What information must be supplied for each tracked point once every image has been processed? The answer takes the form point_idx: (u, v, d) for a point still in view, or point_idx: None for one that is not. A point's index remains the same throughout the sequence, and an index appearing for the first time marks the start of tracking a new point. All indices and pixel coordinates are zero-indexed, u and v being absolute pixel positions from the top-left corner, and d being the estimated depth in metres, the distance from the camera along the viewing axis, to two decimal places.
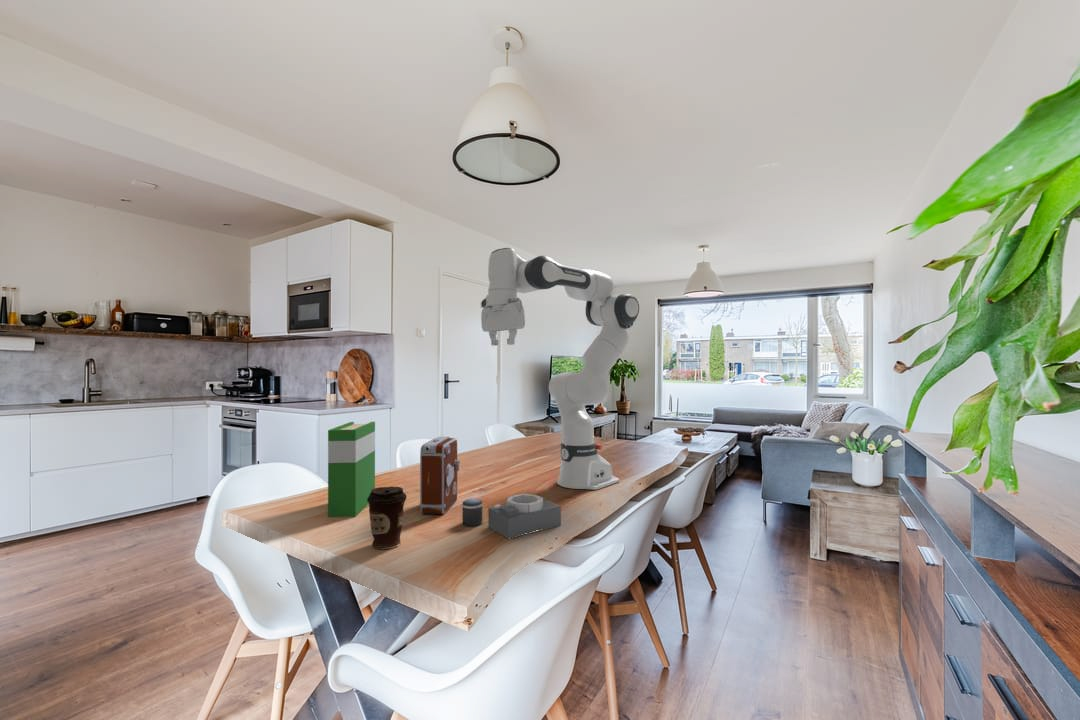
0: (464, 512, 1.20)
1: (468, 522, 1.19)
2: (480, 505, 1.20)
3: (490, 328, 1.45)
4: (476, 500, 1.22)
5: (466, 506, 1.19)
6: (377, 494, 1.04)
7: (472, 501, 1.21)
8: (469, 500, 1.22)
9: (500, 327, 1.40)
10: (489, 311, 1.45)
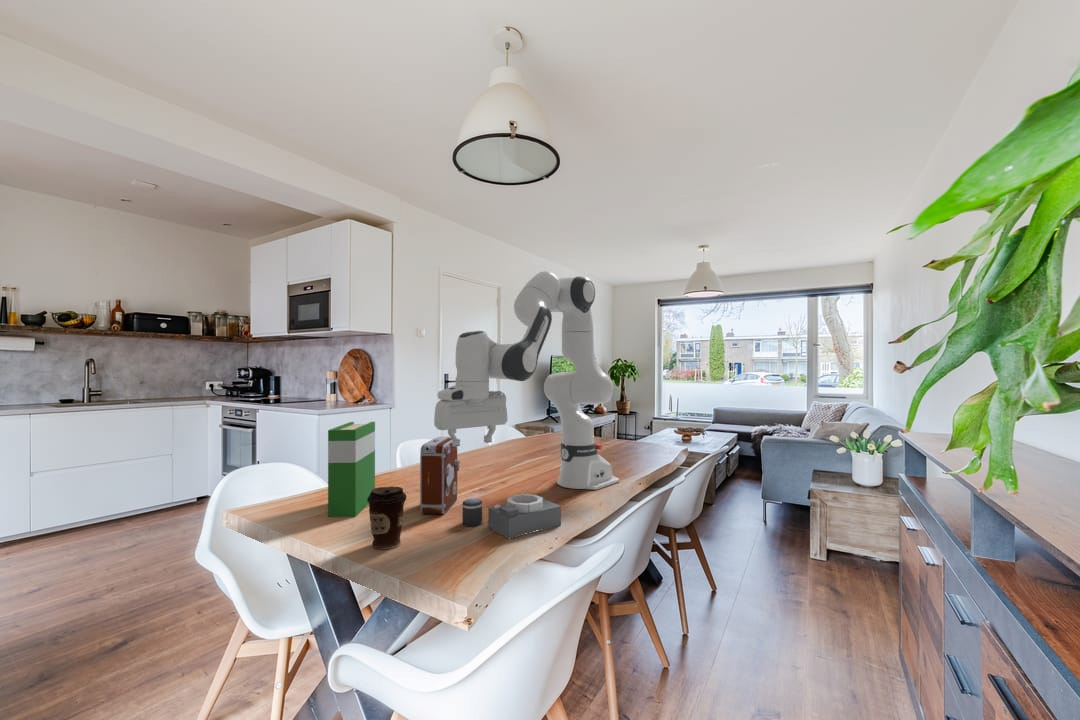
0: (464, 512, 1.20)
1: (468, 522, 1.19)
2: (480, 505, 1.20)
3: (460, 425, 1.18)
4: (476, 500, 1.22)
5: (466, 506, 1.19)
6: (377, 494, 1.04)
7: (472, 501, 1.21)
8: (469, 500, 1.22)
9: (481, 424, 1.21)
10: (461, 405, 1.17)
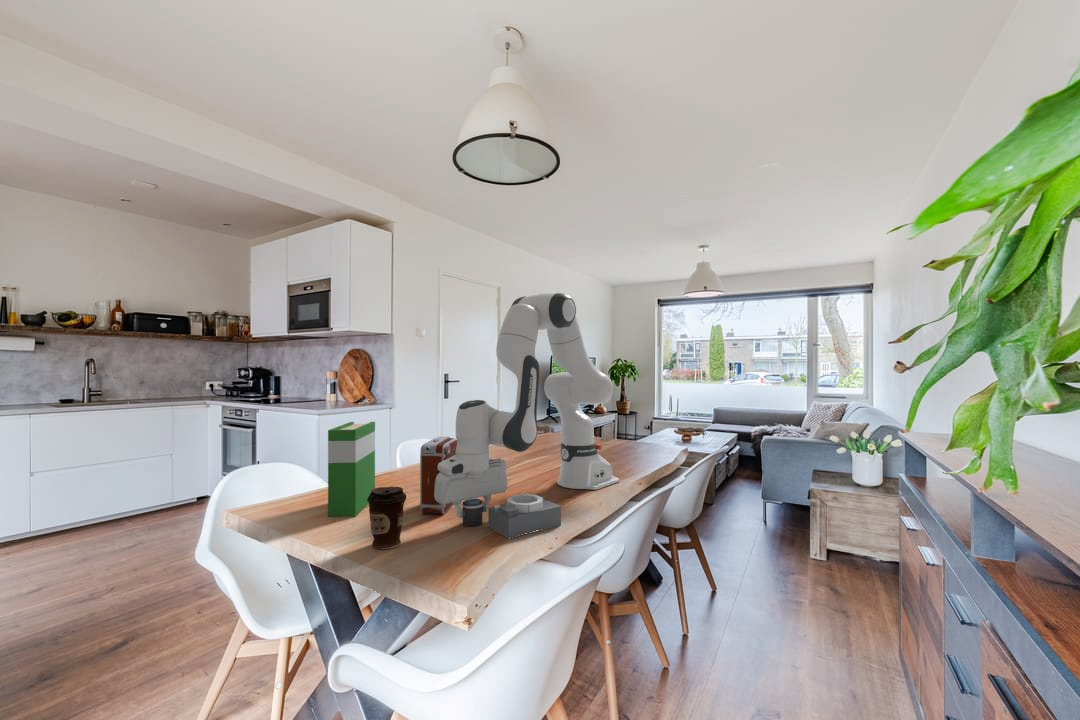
0: None
1: (468, 522, 1.19)
2: (480, 505, 1.20)
3: (460, 498, 1.18)
4: (476, 500, 1.22)
5: (466, 506, 1.19)
6: (377, 494, 1.04)
7: (472, 501, 1.21)
8: (469, 500, 1.22)
9: (481, 494, 1.21)
10: (461, 478, 1.17)
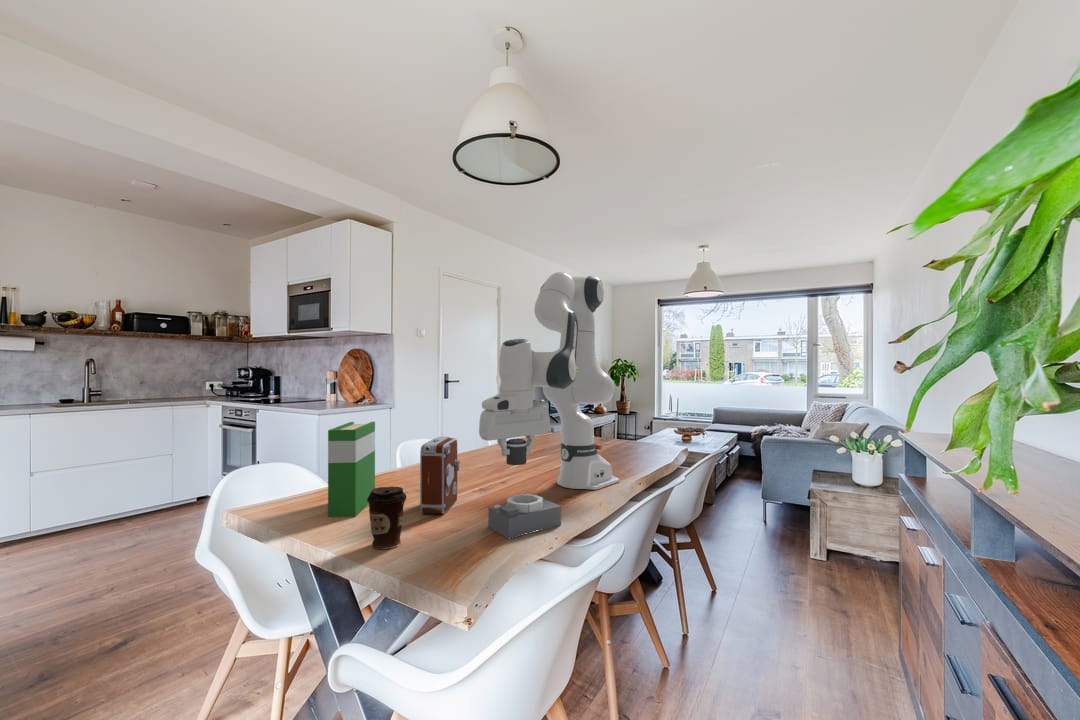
0: None
1: (512, 461, 1.18)
2: (524, 444, 1.19)
3: (505, 435, 1.16)
4: (520, 439, 1.20)
5: (511, 444, 1.18)
6: (377, 494, 1.04)
7: (516, 440, 1.19)
8: (513, 439, 1.20)
9: (525, 433, 1.20)
10: (506, 415, 1.16)
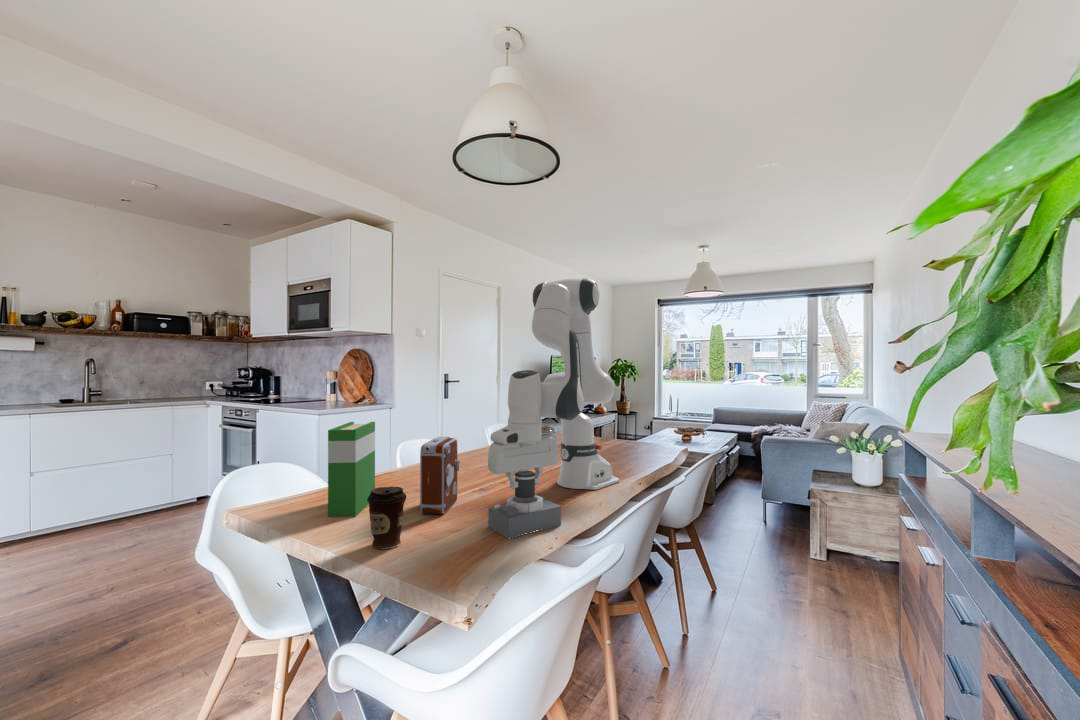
0: None
1: (521, 494, 1.17)
2: (533, 476, 1.18)
3: (514, 468, 1.15)
4: (528, 471, 1.20)
5: (519, 477, 1.17)
6: (377, 494, 1.04)
7: (525, 472, 1.19)
8: (521, 471, 1.20)
9: (534, 466, 1.19)
10: (515, 448, 1.15)
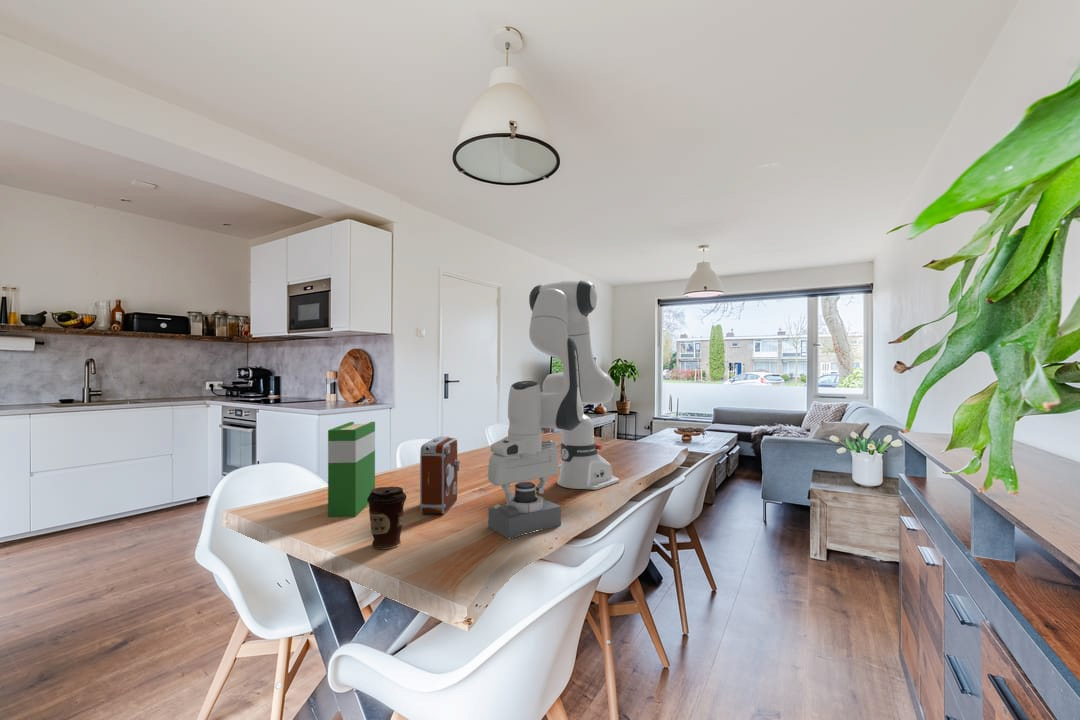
0: (517, 495, 1.18)
1: None
2: (533, 488, 1.18)
3: (514, 479, 1.15)
4: (529, 483, 1.20)
5: (520, 489, 1.17)
6: (377, 494, 1.04)
7: (525, 484, 1.19)
8: (521, 483, 1.20)
9: (534, 476, 1.19)
10: (515, 459, 1.15)
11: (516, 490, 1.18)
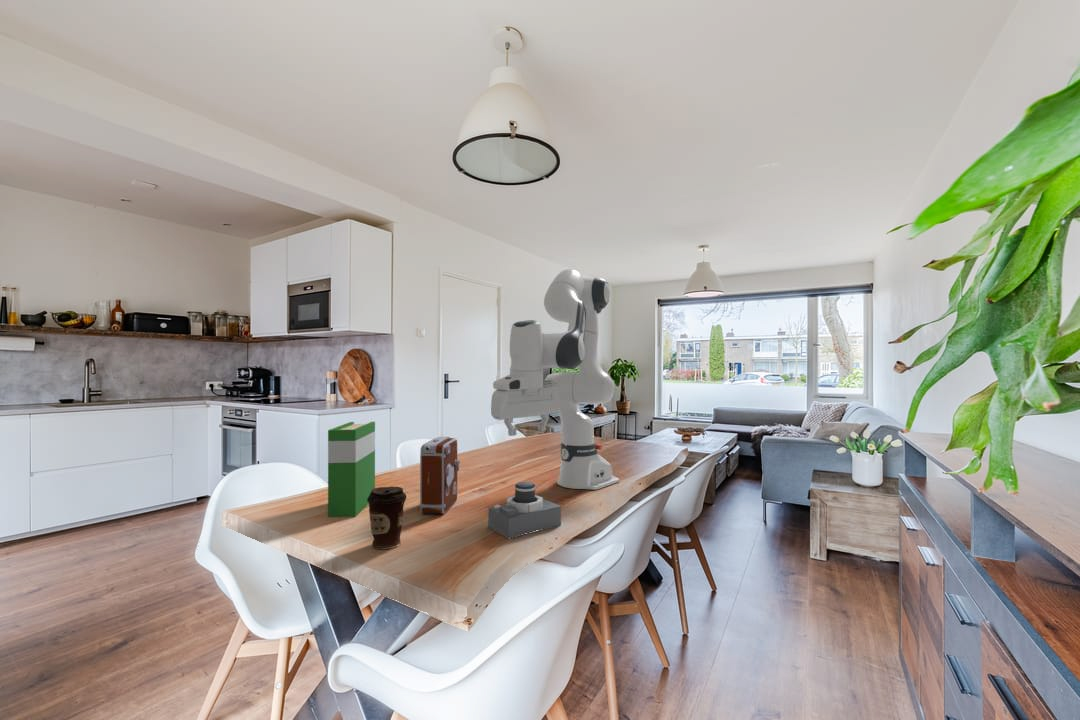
0: (517, 495, 1.18)
1: None
2: (533, 488, 1.18)
3: (517, 415, 1.18)
4: (529, 483, 1.20)
5: (520, 489, 1.17)
6: (377, 494, 1.04)
7: (525, 484, 1.19)
8: (521, 483, 1.20)
9: (536, 413, 1.22)
10: (518, 394, 1.18)
11: (516, 490, 1.18)
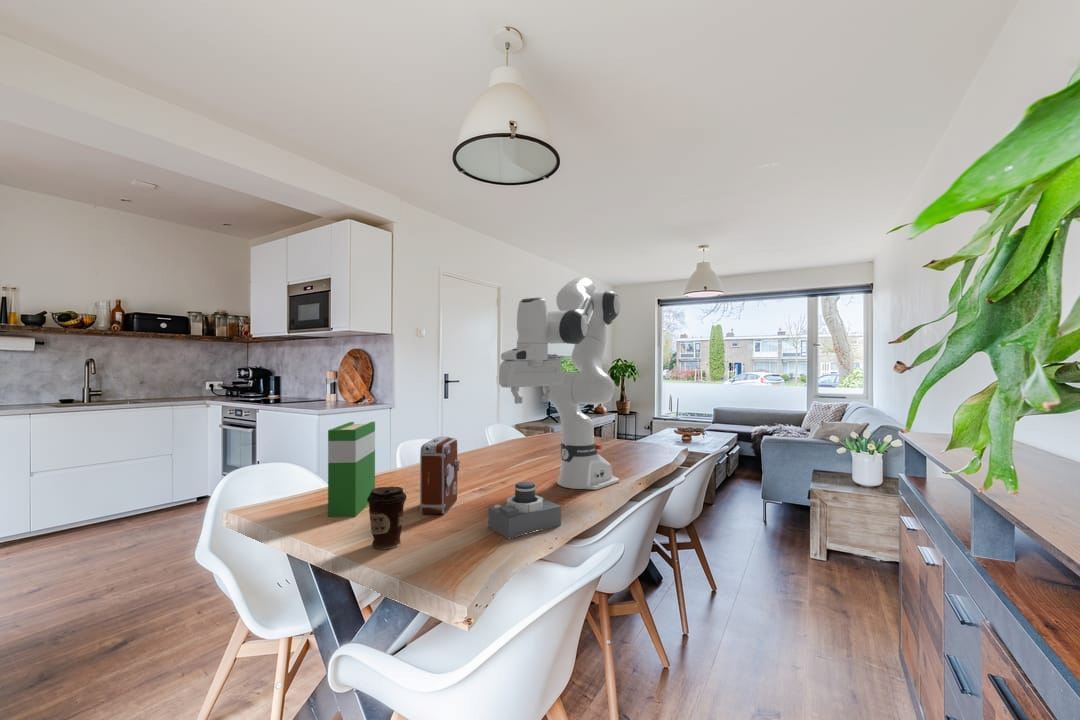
0: (517, 495, 1.18)
1: None
2: (533, 488, 1.18)
3: (523, 384, 1.27)
4: (529, 483, 1.20)
5: (520, 489, 1.17)
6: (377, 494, 1.04)
7: (525, 484, 1.19)
8: (521, 483, 1.20)
9: (540, 384, 1.30)
10: (524, 365, 1.26)
11: (516, 490, 1.18)
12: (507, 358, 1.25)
